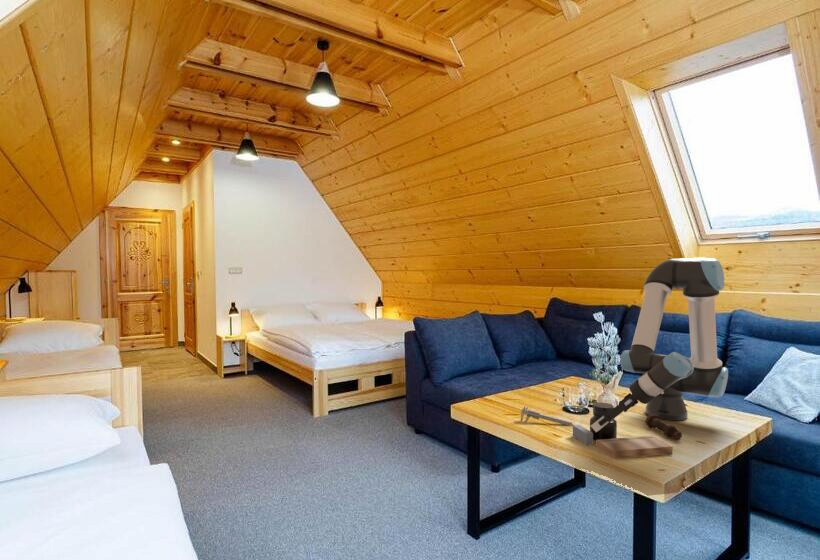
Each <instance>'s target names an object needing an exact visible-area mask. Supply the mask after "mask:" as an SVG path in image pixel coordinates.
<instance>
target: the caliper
mask: <svg viewBox="0 0 820 560" xmlns="http://www.w3.org/2000/svg"><path fill="white" fill-rule="evenodd" d="M528 408H529V406H527V407H526V406H523V408H522V409H521V412H520V421H521V422H523V418H524V416H525V415H526V418H525V422H526V423H527V422H528V420H529V419H530V417H531V418H533V419H534V420H539V419H543V420H546V421H550V422H554V423H557V424H561V425H564V426H569V425H572V426H573V425H576V424H575V423H573V422H572V421H569V420H566V419H562V418H559V417H554V416H551V415H546V414H542V413H541V412H539V411H535V410H533V409H528Z"/></svg>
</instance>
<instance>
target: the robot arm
mask: <svg viewBox="0 0 820 560" xmlns="http://www.w3.org/2000/svg"><path fill="white" fill-rule="evenodd" d="M724 288H725V272H724V269H723V266H722V264H721V262H720V261H719V260H718V259H717V258H709V257H707V258H706V257H693V258H692V257H691V258H690V257H689V258H670V259H666V260H664V261H663V262H660V263H659V264H658V265H656V266H655V267H654V268H653V269H652V271H650V273H649V274H648V276H647V277H646V279H645V282H644V285H643V291H644V296H643V300H642V304H641V307H640V311H639V316H638V320H637V324H636V327H635V332H634V335H633V338H632V339H633V340H632V342H631V346H630V349H627V350H626V349H625V350H623V351H622V353H621V355H620V360H619V363H620V367H621V368H622V370H624V371H625V372H630V373H633V374H642V375H641V376H639V378H637V379H636V380H635V381H633V382H632V383H631V384H630V385H629V387H628V388H629V391H630V392H629V393H628V394H626V395H625V396H624V397H623V399H621V400H620V401H619V402H618V404H617V405H616V406H615V407H614V408H613V409H612V410H611V411H609V412H608V413H607V414H605V413H603V415H604V416H602V417H601V418H600V419H598V420H597V421H596V422H595V423H593V424H592V425H591V427H592V428H593V429H594V431H595V432H597V431H599V430H600V429H601V428H603V427H604V426H605V425H606V424H608V423H609V422H611V420H612V419H615V418H617V417H618V416H620V415H621V414H622V413H623V412H624V413H626V412H628V410H629V409H630V408H634V407H635V406H636V405H637V404H638V403H639V402H640V403H641V404H643V405H645V414H646V415H647V416H648V415H650V414H657V415H658V416H659V418H660V420H664V421H683V420H684V421H685V420H687V419H688V415H689V414H688V410H687V407H686V404H685V400H684V399H683V398H684V396H683V393H685V394H692V395H697V396H703V397H704V396H705V397H708V398H711V397H712V398H721V397H722V396H723V395H724V394H725V391H726V388H727V384H728V378H729V369H728V368H727V367H726V366H724V367H723V361H722V360H721V359H720V358H718V346H717V345H718V344H717V342H718V341H717V323H716V301H715V300H716V297H718V296H719V295H720V291H722V290H724ZM673 290H682V295H683V296H684V297H685V298H686V299H687V305H688V306H687V308H688V323H689V324H688V325H689V340H690V343H689V344H690V357H687V356H685V355H682V354H681V353H679V352H678V351H672V352H671V353H669V354H661V353H659V354H658V353H655V349H656V344H657V340H658V336H659V332H660V328H661V324H662V319H663V317H664V316H663V315H664V312H665V307H666V303H667V298H668V297H669V296H670V295H671V294H672V291H673Z"/></svg>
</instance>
